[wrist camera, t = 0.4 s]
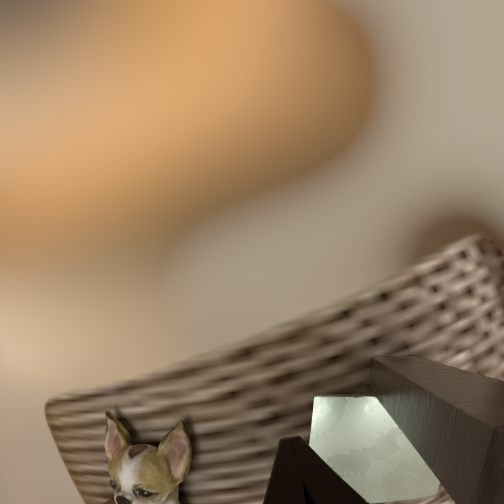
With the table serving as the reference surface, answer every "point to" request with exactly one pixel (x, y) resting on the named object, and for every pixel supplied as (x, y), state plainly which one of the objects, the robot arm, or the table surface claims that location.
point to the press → (415, 433)
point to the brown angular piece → (110, 502)
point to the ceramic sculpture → (146, 465)
